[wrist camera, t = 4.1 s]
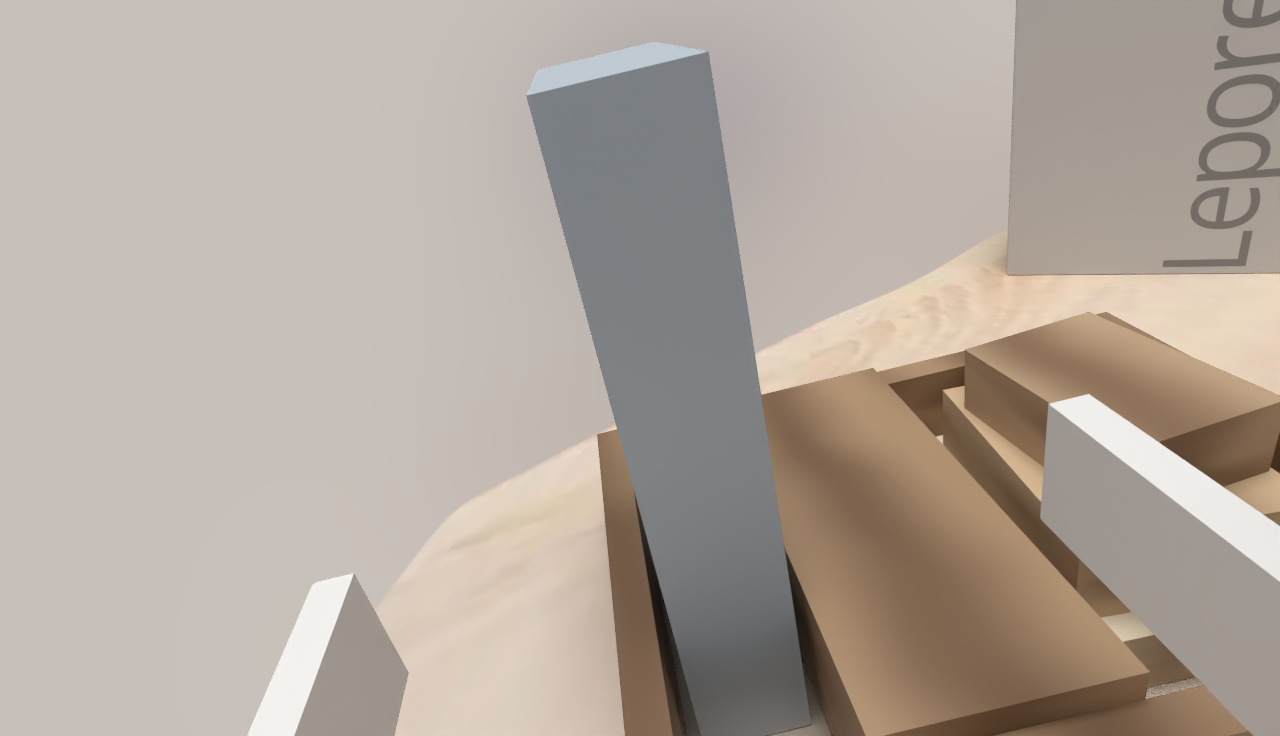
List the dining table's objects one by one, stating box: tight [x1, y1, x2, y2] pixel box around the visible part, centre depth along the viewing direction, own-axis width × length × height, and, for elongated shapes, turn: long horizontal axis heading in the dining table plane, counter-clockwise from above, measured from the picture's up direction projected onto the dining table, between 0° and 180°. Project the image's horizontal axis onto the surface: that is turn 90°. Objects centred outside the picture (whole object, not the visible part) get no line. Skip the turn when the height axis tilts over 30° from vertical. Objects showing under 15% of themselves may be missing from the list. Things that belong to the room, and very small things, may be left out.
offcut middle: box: [943, 386, 1280, 617], centre depth 24 cm, size 6×9×3 cm
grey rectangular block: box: [526, 42, 811, 736], centre depth 21 cm, size 4×8×20 cm, turn 6°
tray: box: [597, 312, 1280, 736], centre depth 24 cm, size 23×18×5 cm
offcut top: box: [964, 312, 1280, 487], centre depth 22 cm, size 5×7×2 cm
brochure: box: [1007, 0, 1280, 275], centre depth 38 cm, size 14×6×30 cm, turn 61°
